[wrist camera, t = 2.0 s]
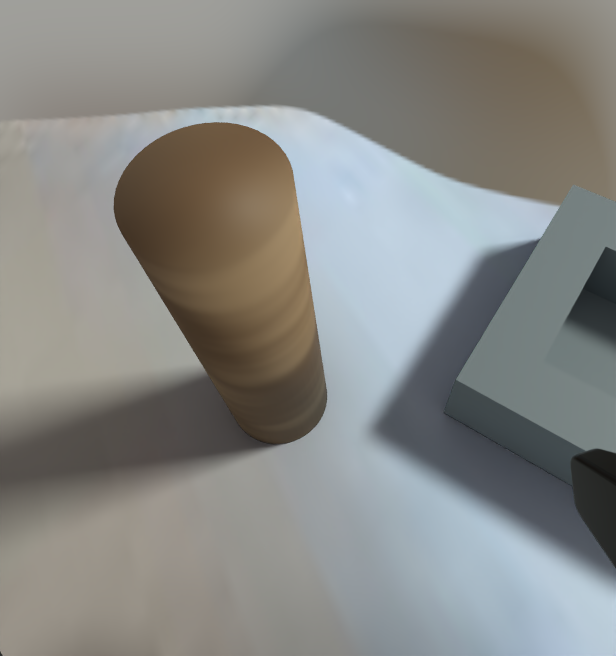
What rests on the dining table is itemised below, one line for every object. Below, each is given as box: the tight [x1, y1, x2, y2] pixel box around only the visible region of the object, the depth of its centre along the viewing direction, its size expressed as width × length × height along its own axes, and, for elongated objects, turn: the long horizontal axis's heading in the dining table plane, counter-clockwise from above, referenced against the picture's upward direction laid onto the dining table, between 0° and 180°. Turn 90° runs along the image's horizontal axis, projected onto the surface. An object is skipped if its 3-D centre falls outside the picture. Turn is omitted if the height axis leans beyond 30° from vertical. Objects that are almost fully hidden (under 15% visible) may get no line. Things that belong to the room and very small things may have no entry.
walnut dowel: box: [114, 122, 327, 444], centre depth 19 cm, size 4×4×13 cm
